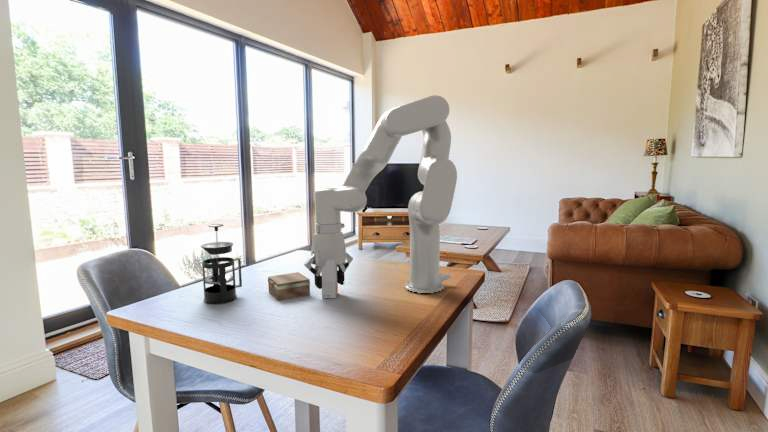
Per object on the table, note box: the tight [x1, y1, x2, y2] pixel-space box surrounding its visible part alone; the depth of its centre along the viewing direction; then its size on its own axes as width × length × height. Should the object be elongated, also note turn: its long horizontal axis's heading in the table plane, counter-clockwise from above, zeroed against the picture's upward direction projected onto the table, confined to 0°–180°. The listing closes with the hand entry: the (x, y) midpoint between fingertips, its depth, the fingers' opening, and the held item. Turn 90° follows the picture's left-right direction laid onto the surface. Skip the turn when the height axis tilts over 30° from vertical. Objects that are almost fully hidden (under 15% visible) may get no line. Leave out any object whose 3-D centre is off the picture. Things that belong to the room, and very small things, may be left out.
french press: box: [200, 223, 243, 305], centre depth 128 cm, size 12×9×23 cm
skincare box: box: [320, 259, 339, 299], centre depth 131 cm, size 6×4×12 cm
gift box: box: [267, 271, 311, 301], centre depth 134 cm, size 11×10×5 cm
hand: (329, 285), depth 132 cm, fingers closed on skincare box, 6 cm apart
